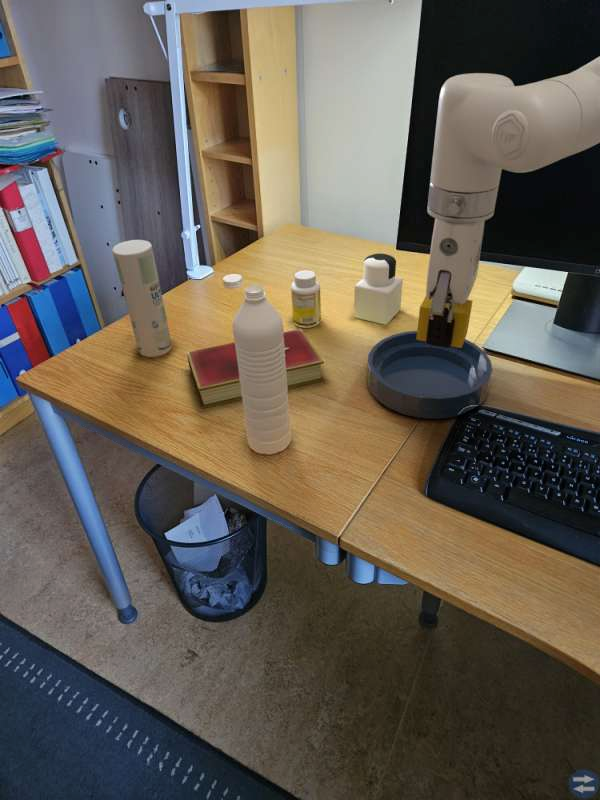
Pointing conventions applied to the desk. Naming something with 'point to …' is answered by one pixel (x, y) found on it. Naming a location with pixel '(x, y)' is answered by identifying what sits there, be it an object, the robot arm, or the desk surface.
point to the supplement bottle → (306, 299)
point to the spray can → (143, 296)
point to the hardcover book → (221, 374)
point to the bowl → (427, 376)
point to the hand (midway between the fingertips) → (442, 334)
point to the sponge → (459, 316)
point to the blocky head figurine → (378, 290)
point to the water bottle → (261, 369)
